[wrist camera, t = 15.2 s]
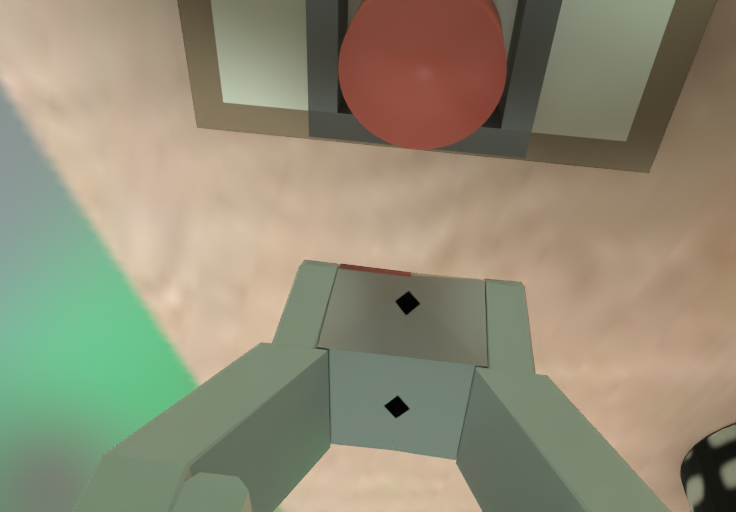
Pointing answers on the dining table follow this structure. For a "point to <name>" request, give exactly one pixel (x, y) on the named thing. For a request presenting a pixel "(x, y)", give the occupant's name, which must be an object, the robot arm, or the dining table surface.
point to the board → (520, 94)
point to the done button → (423, 69)
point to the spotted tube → (712, 473)
